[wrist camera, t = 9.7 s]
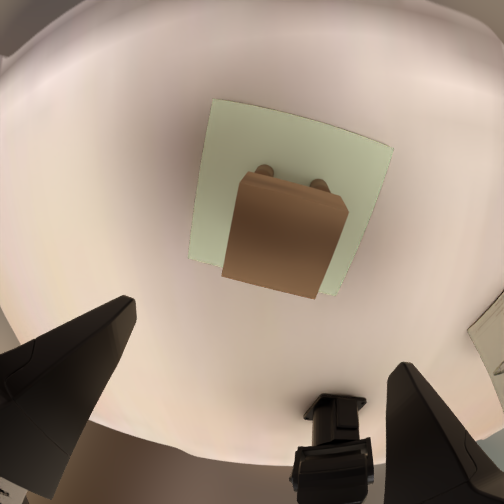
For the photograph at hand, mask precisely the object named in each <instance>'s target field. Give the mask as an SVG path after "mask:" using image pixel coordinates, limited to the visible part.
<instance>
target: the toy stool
mask: <svg viewBox="0 0 504 504" xmlns="http://www.w3.org/2000/svg"><path fill="white" fill-rule="evenodd" d="M273 176H274V171H273V169H272V167H270V166H269V165H266V164H263V165H260V166H258V167H257V169H256V170H255V172H254V173H253V172H249V171H248V172H247V173H246V175H245V176H244V177H243V179H242V180H241V181H240V183H239V187H238V192H237V197H236V202H235V207H234V212H233V217H232V222H231V227H230V232H229V238H228V243H227V248H226V254H225V259H224V265H223V270H222V277H226V278H230V279H234V280H238V281H241V282H245V283H249V284H253V285H257V286H261V287H265V288H269V289H273V290H277V291H281V292H285V293H290V294H294V295H298V296H302V297H306V298H311V299H315V298H316V295H317V293H318V291H319V288H320V286H321V284H322V281H323V279H324V277H325V274H326V272H327V269H328V267H329V264H330V262H331V259H332V257H333V254H334V252H335V249H336V246H337V244H338V241H339V239H340V236H341V233H342V231H343V228H344V225H345V222H346V220H347V217H348V214H349V211H348V209H347V207H346V205H345V203H344V201H343V200H342V198H341V196H339V195H336V194H332V193H331V192H330V190H329V187H328V185H327V183H326V182H325V181H324V180H322V179H315V180H313V181H312V182H311V183H310V186H309V187H308V186H304V185H301V184H297V183H293V182H289V181H286V180H282V179H278V178H274V177H273Z"/></svg>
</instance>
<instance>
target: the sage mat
mask: <svg viewBox="0 0 504 504" xmlns="http://www.w3.org/2000/svg"><path fill="white" fill-rule="evenodd" d="M393 151H394V148H391V147H389V146H387V145H384V144H382V143H379V142H377V141H374V140H371V139H369V138H366V137H363V136H361V135H358V134H355V133H352V132H349V131H346V130H343V129H340V128H337V127H334V126H331V125H328V124H325V123H321V122H318V121H314V120H311V119H307V118H304V117H300V116H296V115H293V114H289V113H285V112H280V111H276V110H272V109H267V108H263V107H258V106H253V105H248V104H243V103H237V102H232V101H226V100H219V99H213V100H212V105H211V110H210V115H209V120H208V125H207V130H206V136H205V141H204V147H203V152H202V158H201V164H200V170H199V177H198V183H197V190H196V196H195V203H194V211H193V218H192V226H191V234H190V242H189V251H188V259H192V260H196V261H199V262H203V263H207V264H210V265H214V266H218V267H222V268H223V265H224V259H225V254H226V248H227V243H228V238H229V232H230V227H231V222H232V217H233V212H234V207H235V202H236V197H237V192H238V187H239V183H240V181H241V180H242V179H243V177H244V176H245V175H246V173H247V172H248V171H249V172H253V173H254V172H255V170H256V169H257V167H258V166H260V165H263V164H266V165H269V166H270V167H272V169H273V171H274V176H273V177H274V178H278V179H282V180H286V181H289V182H293V183H297V184H301V185H304V186H308V187H309V186H310V183H311V182H312V181H313V180H315V179H322V180H324V181H325V182H326V183H327V185H328V187H329V190H330V192H331V193H332V194H336V195H339V196H341V198H342V200H343V201H344V203H345V205H346V207H347V209H348V211H349V214H348V217H347V220H346V222H345V225H344V228H343V231H342V233H341V236H340V239H339V241H338V244H337V246H336V249H335V252H334V254H333V257H332V259H331V262H330V264H329V267H328V269H327V272H326V274H325V277H324V279H323V281H322V284H321V286H320V288H319V291H318V292H320V293H324V294H328V295H332V296H336V295H337V293H338V291H339V289H340V287H341V285H342V282H343V280H344V278H345V276H346V274H347V272H348V269H349V267H350V265H351V263H352V260H353V258H354V256H355V253H356V251H357V249H358V246H359V244H360V242H361V239H362V237H363V234H364V232H365V229H366V227H367V224H368V222H369V219H370V217H371V214H372V211H373V209H374V206H375V203H376V201H377V198H378V195H379V193H380V190H381V187H382V184H383V181H384V178H385V175H386V172H387V169H388V166H389V163H390V160H391V157H392V154H393Z"/></svg>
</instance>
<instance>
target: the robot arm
mask: <svg viewBox="0 0 504 504" xmlns="http://www.w3.org/2000/svg"><path fill="white" fill-rule="evenodd" d="M136 320H137V314H136V302H135V299H133V298H131V297H128V296H126V295H122V296H120V297H118V298H116V299H114V300H111V301H109V302H107V303H105V304H103V305H101V306H99V307H97V308H95V309H93V310H91V311H89V312H87V313H85V314H83V315H81V316H79V317H77V318H75V319H73V320H71V321H69V322H67V323H65V324H63V325H61V326H59V327H57V328H55V329H53V330H51V331H49V332H47V333H45V334H43V335H41V336H39V337H37V338H36V339H33V340H31V341H29V342H27V343H25V344H23V345H20V346H18V347H17V348H14V349H12V350H10V351H7V352H5V353H2V354H0V504H29V502H28V500H27V498H26V493H27V491H31V492H33V493H35V494H38V495H40V496H43V497H45V498H48V499H50V500H51V499H52V498H53V496H54V494H55V491H56V489H57V486H58V484H59V482H60V479H61V477H62V474H63V472H64V470H65V468H66V466H67V463H68V461H69V459H70V456H71V454H72V452H73V450H74V448H75V446H76V444H77V441H78V439H79V437H80V435H81V433H82V431H83V429H84V427H85V425H86V423H87V421H88V419H89V417H90V415H91V413H92V411H93V409H94V407H95V405H96V403H97V402H98V400H99V398H100V396H101V394H102V392H103V390H104V388H105V386H106V385H107V383H108V381H109V379H110V377H111V375H112V374H113V372H114V370H115V368H116V366H117V365H118V363H119V361H120V358H121V356H122V354H123V351H124V349H125V347H126V344H127V342H128V340H129V337H130V335H131V333H132V330H133V328H134V326H135V323H136ZM366 403H367V402H366V399H361V398H351V397H341V396H333V395H321V396H319V398H318V399H317V400H316V401H315V403H314V404H313V405H312V406H311V408H310V409H309V410H308V411H307V412H306V414H305V415H304V419H305V420H312V421H313V425H312V446H308V447H303V446H300V447H298V450H297V451H296V452H295V461H294V466H293V469H292V472H291V475H290V477H289V481H290V482H291V483H292V484H293V488H294V491H295V492H297V502H298V503H299V504H364V502H365V500H366V497H367V493H368V485H369V484H373V482H374V467H373V456H372V447H371V439H370V437H368V438H366V439H361V440H360V437H359V418H358V411H359V410H360V409H361V408H362V407H363V406H364V405H365V404H366ZM384 504H504V472H502V471H501V470H500V469H499V468H498V467H497V466H496V465H495V464H494V462H493V461H492V460H491V459H490V458H489V457H488V456H487V455H486V453H485V452H484V451H483V450H482V449H481V448H480V446H479V445H478V444H477V443H476V442H475V440H474V439H473V438H472V437H471V435H470V434H469V433H468V431H467V430H465V427H464V426H463V425H462V424H461V422H460V421H459V420H458V418H457V417H456V416H455V415H454V413H453V412H452V411H451V410H450V408H449V407H448V406H447V405H446V403H445V402H444V401H443V400H442V398H441V397H440V396H439V395H438V394H437V392H436V391H435V390H434V389H433V387H432V386H431V385H430V384H429V383H428V381H427V380H426V379H425V378H424V377H423V376H422V374H421V373H420V372H419V371H418V370H417V368H416V367H415V366H414V365H413V364H412V363H410V362H401V363H400V364H399V365H398V366H397V367H396V368H395V369H394V371H393V372H392V373H391V374H390V375H389V377H388V381H387V404H386V478H385V494H384Z"/></svg>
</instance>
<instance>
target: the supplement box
mask: <svg viewBox="0 0 504 504" xmlns="http://www.w3.org/2000/svg"><path fill="white" fill-rule="evenodd" d="M468 333H469V335H470V337H471V339H472V341H473V343H474V345H475V347H476V349H477V351H478V352H479V354H480V357H481V359H482V361H483V363H484V365H485V367H486V369H487V371H488V373H489V376H490V378H491V380H492V383H493V385H494V388H495V390H496V393H497V396H498V398H499V401H500V403H501V406H502V409H503V412H504V292H503V293H502V295H501V296H500V297H499V298H498V299H497V300H496V302H495V303H494V304H493V305H492V306H491V307H490V308H489V309H488V310H487V311H486V313H485V314H484V315H483V316H482V317H481V318H480V319H479V320H478V321H477V322H476V323H475V324H474V325H472V326H471V327H470V328H469V329H468Z"/></svg>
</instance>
